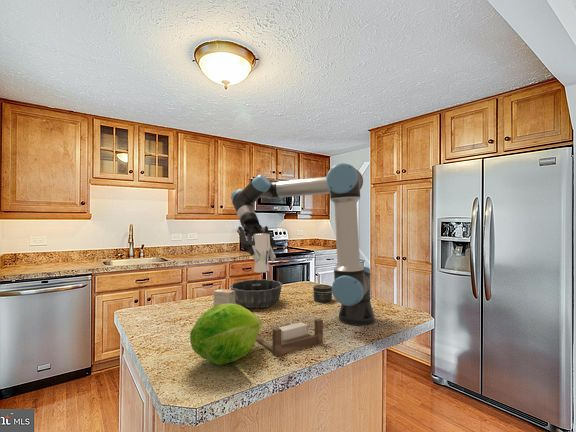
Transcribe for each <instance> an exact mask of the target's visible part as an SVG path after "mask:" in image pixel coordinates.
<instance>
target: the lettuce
mask: <svg viewBox="0 0 576 432" xmlns="http://www.w3.org/2000/svg"><path fill="white" fill-rule="evenodd" d="M193 325H194V326H193V327H192V329H191V330H190V334H189V339H190V342H189V343H190V345H191V348H192V350H193V351H194V353H196V354H197V355H198V356H199V357H201V358H202V359H204V360H206V361H209V362H211V363H213V364H215V365H217V366H221V365H227V364H229V363H234V362H236V361H238V360H239V359H240V360H241V358H243V357H245V356H247V355H248V353H249V352H250V351H251V350H252V348H253V347H254V346H255V343H256V342H257V341H256V339H257V336H259V332H260V330H261V329H262V327H263V321H262V319H261V318H260V317H258V316H257V315H256V314H254V313H253V312H251V311H250V310H249V309H248V308H247V307H246V308H244V307H243V306H241V305H238V304H236V303H235V304H231V303H230V304H221V305H217V306H214V305H213V306H212V307H211V308H210V309H209V310H207V311H205V312H204V313H202V315H201V316H200V317H198V319H197V320H196V321H195V323H194V324H193Z"/></svg>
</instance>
